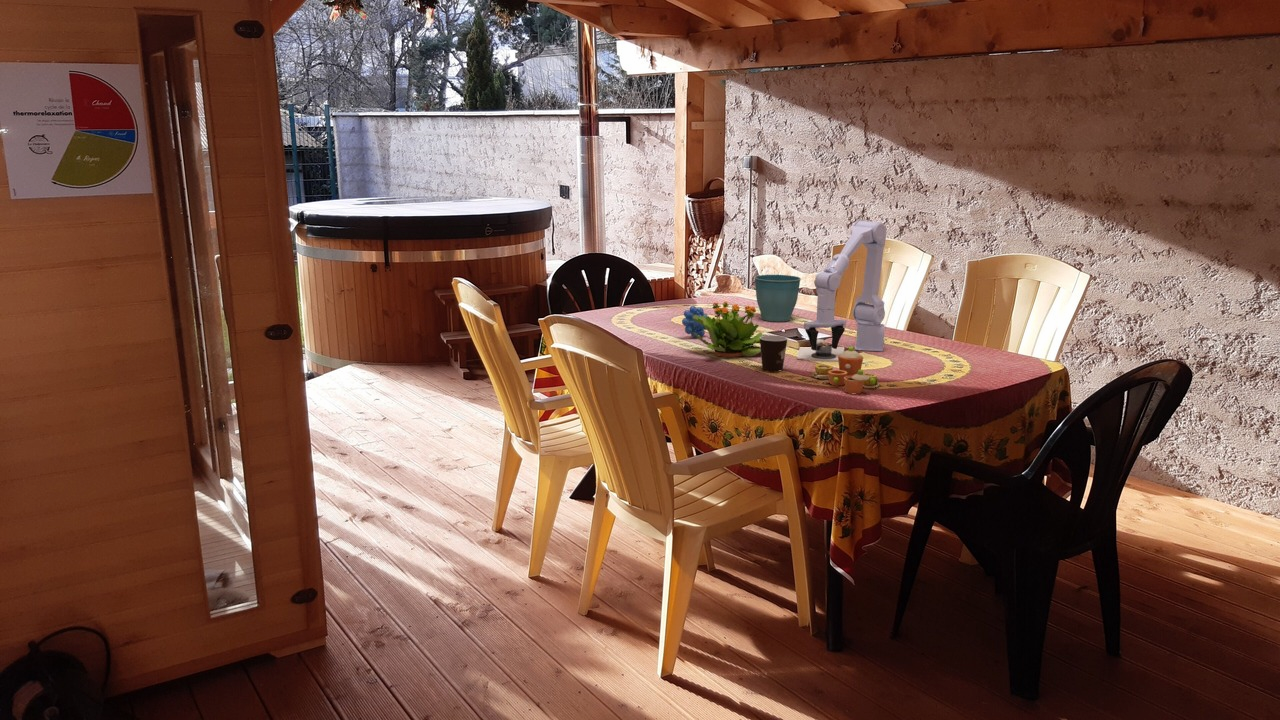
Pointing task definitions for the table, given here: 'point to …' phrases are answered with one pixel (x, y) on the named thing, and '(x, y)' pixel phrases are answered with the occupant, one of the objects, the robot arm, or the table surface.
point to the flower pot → (776, 296)
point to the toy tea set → (847, 373)
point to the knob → (823, 349)
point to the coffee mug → (773, 352)
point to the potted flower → (731, 331)
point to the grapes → (694, 322)
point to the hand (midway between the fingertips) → (824, 349)
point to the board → (809, 354)
